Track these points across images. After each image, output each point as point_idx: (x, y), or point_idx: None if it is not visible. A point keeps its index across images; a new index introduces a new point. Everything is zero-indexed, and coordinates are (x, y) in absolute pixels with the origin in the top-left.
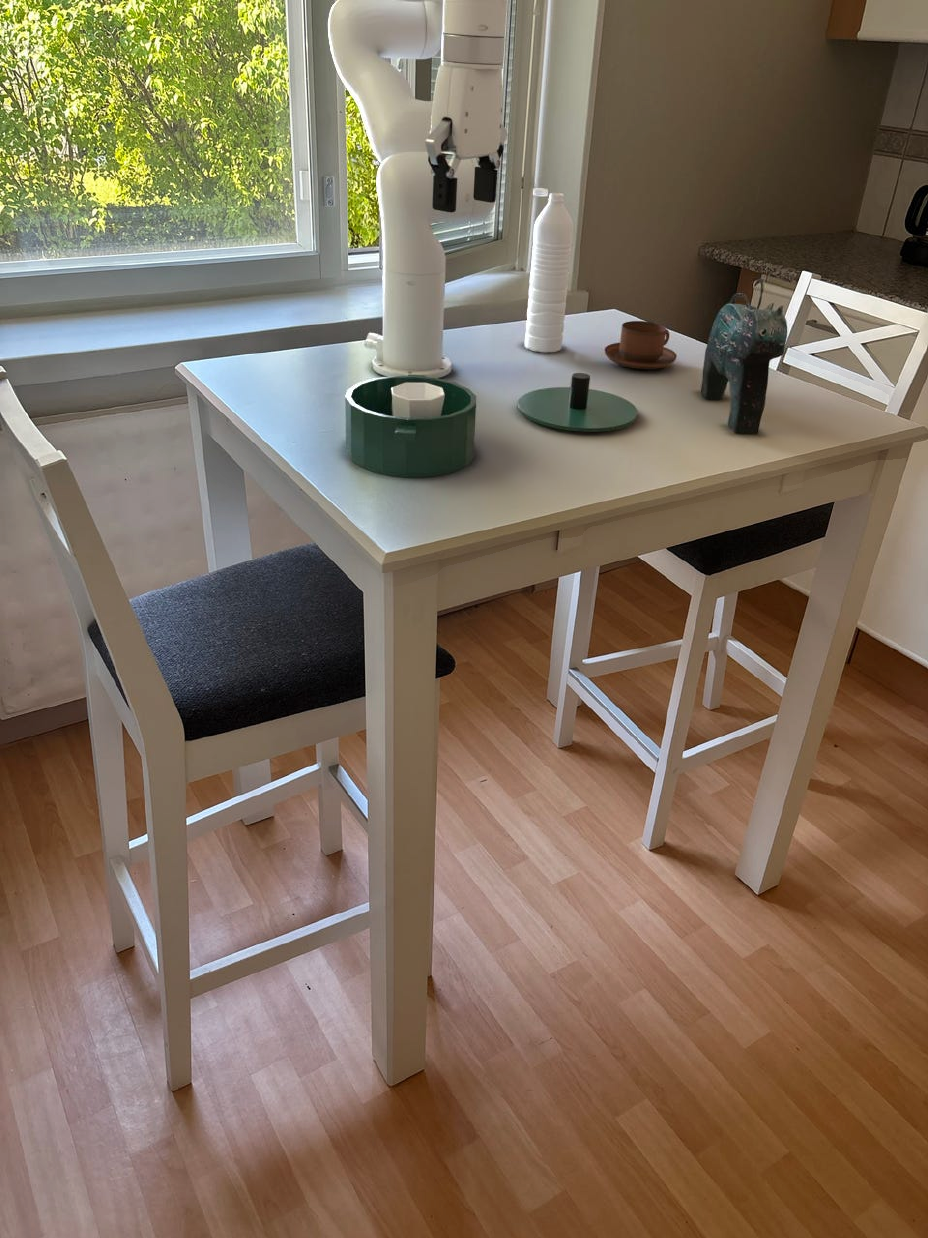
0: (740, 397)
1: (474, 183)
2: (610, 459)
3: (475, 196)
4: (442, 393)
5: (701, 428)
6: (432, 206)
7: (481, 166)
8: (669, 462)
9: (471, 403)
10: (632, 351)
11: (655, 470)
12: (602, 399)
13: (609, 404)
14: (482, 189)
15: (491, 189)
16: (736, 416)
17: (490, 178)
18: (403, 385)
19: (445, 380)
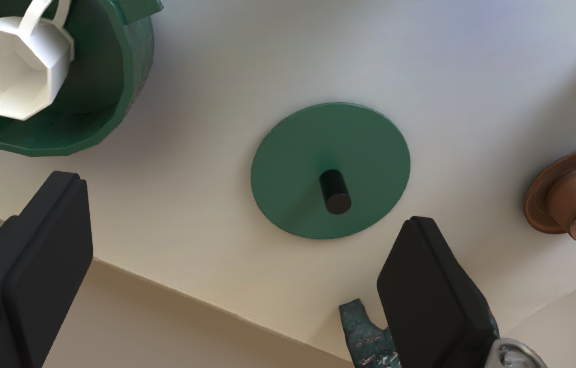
0: (346, 337)
1: (427, 265)
2: (204, 238)
3: (407, 231)
4: (27, 114)
5: (342, 282)
6: (54, 171)
7: (457, 360)
8: (231, 279)
9: (61, 150)
10: (556, 195)
11: (203, 274)
12: (371, 196)
13: (356, 207)
14: (404, 281)
15: (389, 317)
16: (342, 319)
17: (405, 352)
18: (9, 33)
19: (131, 72)
